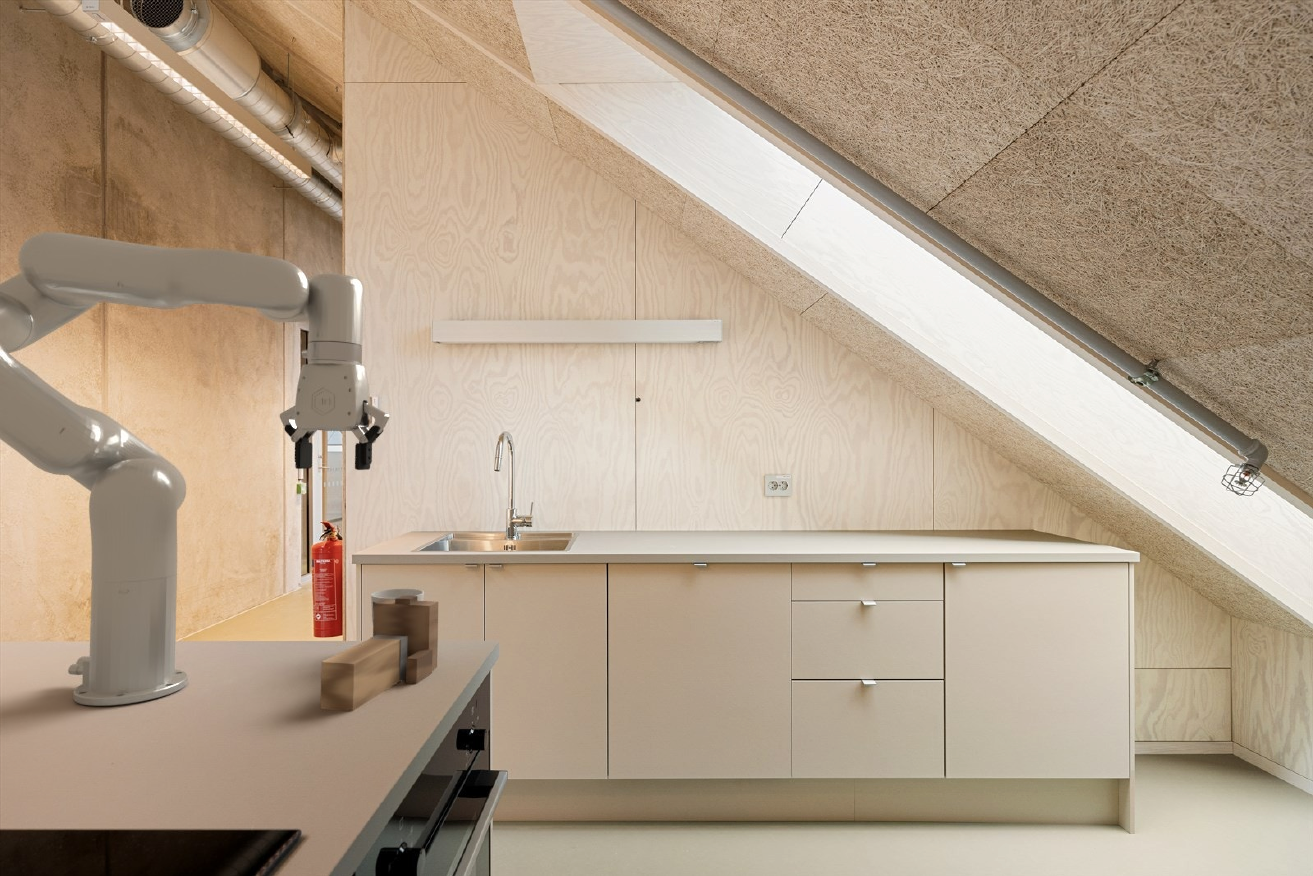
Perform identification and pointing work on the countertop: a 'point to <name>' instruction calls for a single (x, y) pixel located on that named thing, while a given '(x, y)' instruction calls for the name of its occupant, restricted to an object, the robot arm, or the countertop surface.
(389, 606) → the wooden footed block
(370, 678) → the wooden block
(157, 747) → the countertop surface
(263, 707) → the countertop surface
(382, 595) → the cup
